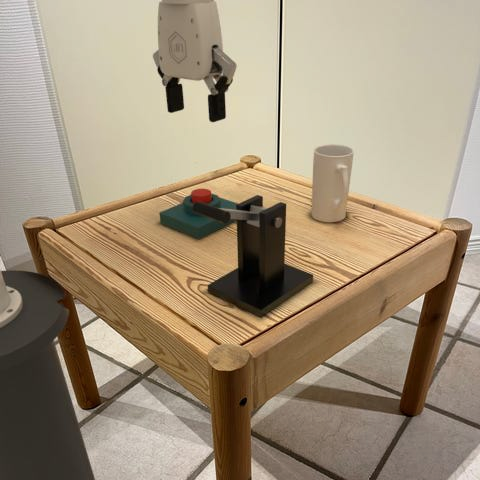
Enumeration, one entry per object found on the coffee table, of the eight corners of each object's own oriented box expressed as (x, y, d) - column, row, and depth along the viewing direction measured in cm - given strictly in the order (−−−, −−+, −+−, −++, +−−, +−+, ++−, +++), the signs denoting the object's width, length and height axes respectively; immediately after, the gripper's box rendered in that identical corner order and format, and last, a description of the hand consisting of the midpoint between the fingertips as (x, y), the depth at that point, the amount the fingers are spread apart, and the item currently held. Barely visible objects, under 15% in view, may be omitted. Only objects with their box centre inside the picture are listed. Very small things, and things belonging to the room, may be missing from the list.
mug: (305, 210, 97) (308, 146, 90) (338, 206, 98) (344, 142, 91) (323, 233, 89) (328, 164, 82) (359, 228, 90) (368, 160, 83)
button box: (198, 239, 88) (197, 217, 85) (160, 223, 93) (157, 203, 91) (245, 216, 95) (244, 196, 93) (206, 203, 100) (205, 183, 98)
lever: (220, 227, 59) (225, 207, 58) (190, 216, 62) (194, 196, 61) (279, 231, 68) (284, 213, 68) (251, 221, 71) (255, 204, 70)
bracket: (261, 317, 68) (261, 230, 61) (207, 292, 74) (202, 208, 67) (313, 281, 76) (318, 199, 68) (261, 260, 81) (261, 182, 74)
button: (201, 207, 90) (201, 197, 89) (187, 202, 92) (186, 192, 91) (215, 200, 92) (215, 191, 91) (201, 196, 94) (201, 187, 93)
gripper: (128, -9, 76) (144, 112, 86) (212, -7, 66) (218, 129, 76) (166, -13, 80) (177, 103, 90) (250, -11, 71) (251, 119, 81)
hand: (196, 115), depth 83 cm, fingers open, 9 cm apart
